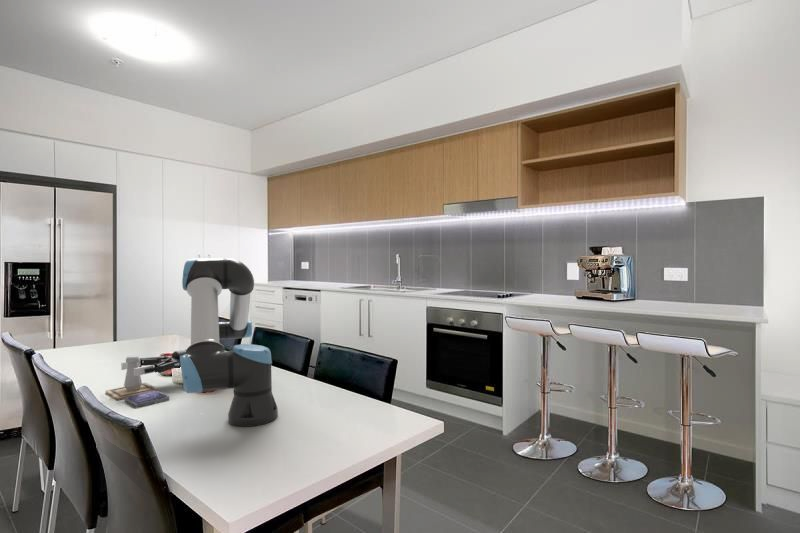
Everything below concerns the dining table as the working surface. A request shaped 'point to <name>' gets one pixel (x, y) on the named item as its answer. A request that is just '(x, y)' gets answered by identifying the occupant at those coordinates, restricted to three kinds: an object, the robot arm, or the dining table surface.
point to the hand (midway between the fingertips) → (127, 369)
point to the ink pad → (146, 398)
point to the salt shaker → (132, 374)
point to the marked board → (123, 393)
